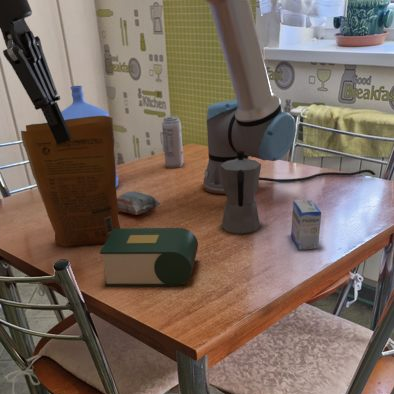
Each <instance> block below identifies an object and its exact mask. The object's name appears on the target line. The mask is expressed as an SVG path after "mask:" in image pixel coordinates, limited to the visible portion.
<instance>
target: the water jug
mask: <svg viewBox="0 0 394 394" xmlns="http://www.w3.org/2000/svg"><path fill="white" fill-rule="evenodd" d="M70 91H71V97H72V104H70V105H68V106H67V107H66V108H64V109H63V110H60V111H61V113H62V116H63V118H64V120H68V119H74V118H82V117H91V116H108V117H110V115H109V112H108V111H107V110H105V109H103V108H101V107H98V106H95V105H93V104H90V103H88V102H86V101H85V97H84V92H83V85H73V86H70ZM118 186H119V176H118V172H117V170H116V188H117V187H118Z"/></svg>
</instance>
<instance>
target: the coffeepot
mask: <svg viewBox="0 0 394 394" xmlns="http://www.w3.org/2000/svg"><path fill="white" fill-rule="evenodd" d="M237 156H238V158H236V159H235V160H230V161H226V162H224V163H223V164H221V165H220V168H221V174H222V180H223V186H224V192H225V194H226V195H225V196H226V201H225V202H224V210H223V214H222V215H223V216H222V223H221V227H222V229H223V230H224V231H225V232H227V233H230V234H236V235H243V234H244V235H245V234H250V233H254V232H255V231H257V230H258V229H259V227H260V226H261V225H260V219H259V218H260V217H259V211H258V206H257V201H256V193H257V192H258V187H259V181H260V180H259V177H260V175H261V168H262V163H260V162H259V161H257V160H256V159H250V158H249V159H250V160H249V159H246V158H243V156H244V152H243V151H238V152H237Z"/></svg>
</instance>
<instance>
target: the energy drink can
mask: <svg viewBox="0 0 394 394" xmlns="http://www.w3.org/2000/svg"><path fill="white" fill-rule="evenodd" d="M161 127H162V128H161V129H162V138H163V139H162V140H163V151H164V163H165V165H166V167H167V168H170V169H178V168H180V167H181V168H182V166H183V164H184V150H183V149H184V148H183V136H182V134H183V133H182V123H181V120H180V118H179V116H177V115H170V116H165V117H163V120H162V123H161Z"/></svg>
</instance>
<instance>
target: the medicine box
mask: <svg viewBox="0 0 394 394" xmlns="http://www.w3.org/2000/svg"><path fill="white" fill-rule="evenodd" d="M321 223H322V211H321V209H320V208H319V207H318V206H317V205H316V203H315V202H314V201H313V200H312V199H297V200H293V201H292V215H291V229H290V237H291V239H292V240H293V242H294V244H295V245H296V247H297V249H298V250H299V251H303V250H304V251H305V250H315V249H319V241H320V233H321Z"/></svg>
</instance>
